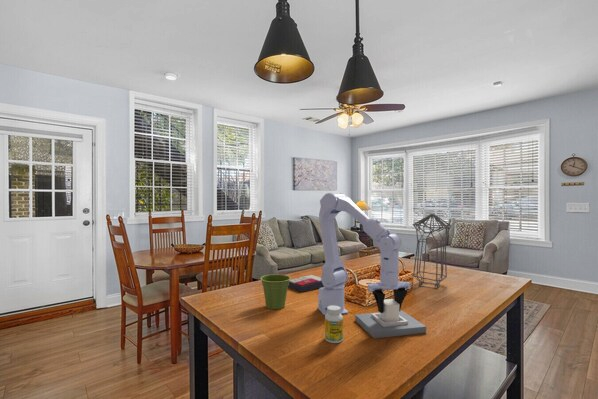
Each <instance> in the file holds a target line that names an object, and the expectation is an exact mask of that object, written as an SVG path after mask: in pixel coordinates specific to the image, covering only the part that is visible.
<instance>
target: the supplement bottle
mask: <svg viewBox="0 0 598 399" xmlns="http://www.w3.org/2000/svg"><path fill="white" fill-rule="evenodd" d="M327 312H328V313H327V314H326V315H324V338H325V341H326V342H328V343H330V344H338V343H341V342H342V341H343V340H344V325H343V324H344V317H343V314H340V312H341V308H340V307H339V306H334V305H332V306H328V307H327Z"/></svg>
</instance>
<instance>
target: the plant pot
mask: <svg viewBox="0 0 598 399" xmlns="http://www.w3.org/2000/svg"><path fill="white" fill-rule="evenodd" d="M259 278H260V279H259V280H260V281H261V285H262V287H263V294H264V301H265V308H267V309H270V310H275V311H277V310H281V309H283V308H284V307H285V306H286V302H287V301H286V300H287V294H288V288H289V287H288V285H289V280H292V277H291V276H290V275H286V274H277V273H276V274H275V273H273V274H265V275H262V276H261V277H259Z"/></svg>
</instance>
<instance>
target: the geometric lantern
mask: <svg viewBox="0 0 598 399" xmlns="http://www.w3.org/2000/svg"><path fill="white" fill-rule="evenodd" d="M429 220H430V222H429ZM428 222H429V223H428ZM435 222H436V223H437V224H435ZM412 226H413V227H414V228H415V231H416V242H417V243H416V249H415V250H416V251H415V257H414V266H413V273H412V276H413V278H414V279H416V280H417V281H418V287H422V288H427V289H428V288H429V289H435V290H436V289H438V288H439V286H440V283H442V282H443V281H444V280H446V278H447V277H448V276H447V274H448V272H447V244H446V243H447V242H446V241H447V238H448V235H449V232H450V230H451V228H452V224H450V223H449V222H447V221H445V220H444V219H442V218H441V217H440V216H438V215H436V214H435V213H430V214H428V215H426V216H425V217H423V218H422V219H419V220H418V221H416V222H414V223H413V224H412ZM422 228H423V229H422ZM425 228H427V229H429V231H425ZM443 230H445V232H444V234H443V236H442V235H441V231H443ZM421 231H422V232H423V234H422V232H421ZM418 232H419V233H420V236H421V237H420V238H419V236H418V235H419V234H418ZM435 232H437V233H438V234H439V236H440V237H441V240H440V239H436V238H435V236H434V234H433V233H435ZM425 234H428V235H427V236H426V238H424V237H423V236H424V235H425ZM430 235H431V236H432V238H433V239H430V238H429V237H430ZM444 237H445V238H444ZM431 241H432V242H431ZM433 241H435V242H433ZM420 243H421V248H420ZM424 243H425V245H424ZM427 244H435V245H436V250H435V251H436V255H435V256H436V258H435V259H436V260H435V262H436V264H435V265H436V266H435V267H436V269H435V271H436V272H429V271H425V270H426V269H425V267H426V256H427ZM423 245H424V246H423ZM439 245H440V273H438V267H439V266H438V263H439V262H438V261H439V258H438V257H439V256H438V255H439V250H438V249H439ZM423 247H424V257H423V256H422V254H423ZM419 254H420V255H419ZM422 257H423V258H424V259H423V267H422V268H423V270H422V271H421V263H422ZM444 263H445V264H444ZM444 266H445V267H444ZM444 268H445V269H444ZM444 270H445V275H444ZM415 272H416V273H415ZM421 273H422V275H423V276H422V275H421ZM418 274H419V276H418ZM425 274H429V275H435V279H433V278H429V277H425ZM438 276H440V277H439V278H438ZM425 280H429V281H434V282H427V281H425ZM422 283H423V284H430V285H434V287H432V286H425V285H422Z"/></svg>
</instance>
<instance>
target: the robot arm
mask: <svg viewBox="0 0 598 399" xmlns="http://www.w3.org/2000/svg"><path fill="white" fill-rule="evenodd" d="M319 204H320V209H319V213H318V219H319V227H320V233H321V239H322V248H323V253H324V254H323V255H324V264H323V265H322V268H321V277H320V278H321V281H322V284H323V285H324V287H323V288H318V293H317V294H318V295H317V297H318V298H317V299H318V301H317V305H318V306H317V309H318V310H319V311H320V312H321V313H322V315H323V316H325V315H326V314H327V313H328V312H327V307H328V306H332V305H334V306H339V307H340V308H341V312H340V314H341V315H343V314H349V311H348V310H347V309H346V308H345V286H346V282H347V281H348V279H349V275H348V271H347V269H346V268H345V263H344V262H343V261H342V260H341V258H340V252H339V246H338V239H337V232H336V231H337V230H336V224H335V218H336V217H337V215H338V214H339V213H342V212H345V213H347V214H349V216H351V217H352V218H353V219H354V220H356V221H357V222H358V223H359V224H360V225H362V231H363V232H364V233H365V234H367V235H368V236H369V237H370V238H371V239H372V240H373V241H374V242H375V243H376V245H377V248H378V249H379V251H380V273H379V274H380V277H379V278H380V281H379V282H375V283H368V284H367V291H368V292H371V293H372V296H373V298H374V299H375V302H376V306H377V310H378V312H380V313H383V311H384V299H385V297H386V293H384V292H383V291H389V290H390V291H391V290H393V297H394V298H393V300H395V301H396V302H397V303H398V304H400V306H399V312H400V311H401V309H402V305H403V302H404V300H405V298H406V296H407V295H408V290H410V289H411V286H412V285H411V284H412V283H411V282H409V281H399V271H400V270H399V269H400V268H399V265H400V264H399V261H400V260H399V249H400V248H401V246H402V239H401V237H400V236H399V234H397V233H395V232H392V231H391V230H390V229H388V228H386V227H385V226H384V225H383V223H381V220H380V219H379V218H378V219H376V218H373V217H372V218H370V217H369V216H368V215H367V214H366V213H365V212H364V211H362V209H361V208H359V206H358V205H357V204H355V202H354V201H353V200H352V199H351V197H349V196H347V194H345V193H343V192H342V193H341V192H340V193H332V192H328V193H325V194H324V195H323V196H322V198H321V199H320V200H319Z"/></svg>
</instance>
